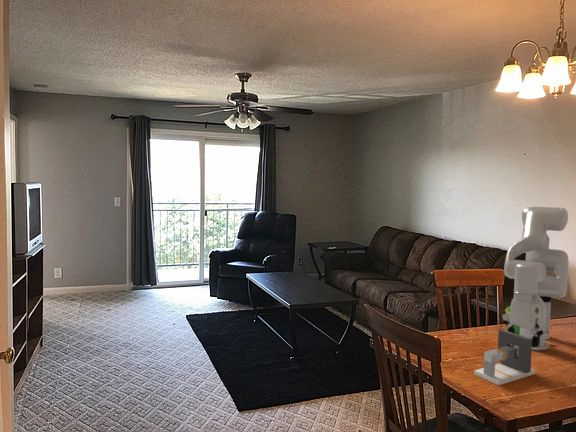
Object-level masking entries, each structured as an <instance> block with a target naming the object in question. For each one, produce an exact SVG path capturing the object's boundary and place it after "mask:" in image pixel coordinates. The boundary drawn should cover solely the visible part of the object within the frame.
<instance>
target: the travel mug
mask: <svg viewBox="0 0 576 432" xmlns="http://www.w3.org/2000/svg"><path fill="white" fill-rule="evenodd" d="M540 298H541V299H542V300H543V302H544V303H545V305H546V319H545V325H546V326H547V327H548V328H547V330H546V331H545V335H546V334H548V335H549V336H550V330H551V329H550V326H551V325H550V324H551V307H552V306H551V305H552V302H551V301H552V297H546V296H540Z"/></svg>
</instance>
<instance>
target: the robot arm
mask: <svg viewBox="0 0 576 432" xmlns="http://www.w3.org/2000/svg"><path fill="white" fill-rule="evenodd" d="M521 221H522V225H523V228H522V234H521V239H519V240H518V241H516V242H514V243H513V244H512V245H511V246H510V247H509V248H508V250H507V252H506V255H505V260H504V266H503V269H504V270H503V272H504V276H505V277H507V278H508V279H511V280H512V279H513V280H514V282H513V283H514V286H513V298H511V302H510V306H509V307H510V312H509V313H508V314H506V313H504V314H502V316H501V317H502V319H503V323H504V325H505V327H506V329H507V331H509V332H512V333H515V328H513V327H514V326H517V327H520V334H519V335H521V336H524V337H527V338H530V339H532V351H545V350H548V349H549V344H548V343H547V342H546V340H549V339H550V337H551V336H550V334H549V335H548V334H546V335H545V331H546V330H547V328H548V327H547V326H546V325H545V319H546V305H545V303H544V302H543V300H542V299H541V298H540V296H546V297H551V298H555V299H556V298H557V299H563V298H564V297H565V296H566V295H567V293H568V282H569V281H568V279H569V277H568V276H569V264H570V263H569V262H570V261H569V256H568V253H567V252H566V251H564V250H561V249H554V248H553V249H552V248H550V237H549V235H548V234H547V231H553V232H554V231H555V232H556V231H557V232H561V231H564V230H565V228H566V226H567V224H568V222H569V213H568V210H567V209H566V208H565V207H552V206H551V207H550V206H548V207H547V206H528V207H525V208H524V209H523V210H522V211H521ZM522 254H525V260H521V259H516V258H517V257H518V256H520V255H522ZM547 272H550V273H547ZM551 272H552V273H554V274H552V273H551ZM508 317H509V320H508ZM515 334H516V333H515Z"/></svg>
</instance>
